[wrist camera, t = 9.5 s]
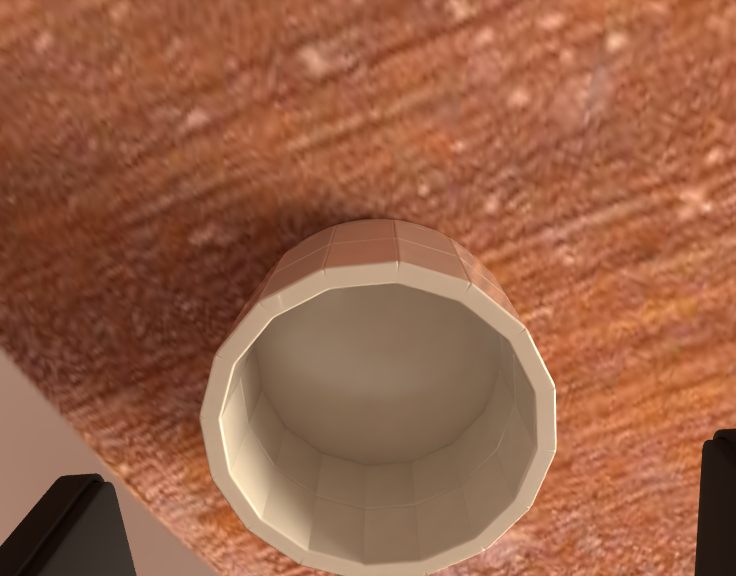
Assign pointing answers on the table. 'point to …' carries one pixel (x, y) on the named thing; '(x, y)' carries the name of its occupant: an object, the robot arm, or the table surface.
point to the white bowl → (379, 404)
